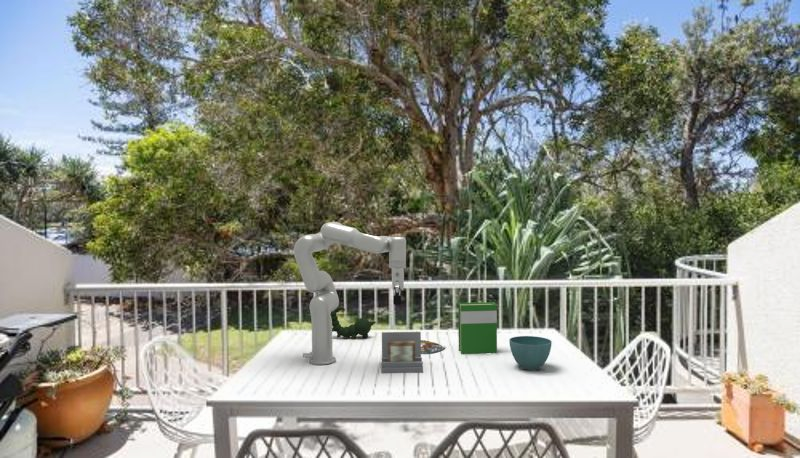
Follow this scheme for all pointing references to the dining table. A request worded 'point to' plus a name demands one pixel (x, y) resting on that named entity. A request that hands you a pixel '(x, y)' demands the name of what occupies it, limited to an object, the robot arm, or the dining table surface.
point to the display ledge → (401, 366)
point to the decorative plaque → (430, 347)
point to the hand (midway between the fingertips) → (397, 302)
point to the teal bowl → (530, 351)
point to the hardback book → (477, 327)
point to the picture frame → (401, 351)
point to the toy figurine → (351, 326)
